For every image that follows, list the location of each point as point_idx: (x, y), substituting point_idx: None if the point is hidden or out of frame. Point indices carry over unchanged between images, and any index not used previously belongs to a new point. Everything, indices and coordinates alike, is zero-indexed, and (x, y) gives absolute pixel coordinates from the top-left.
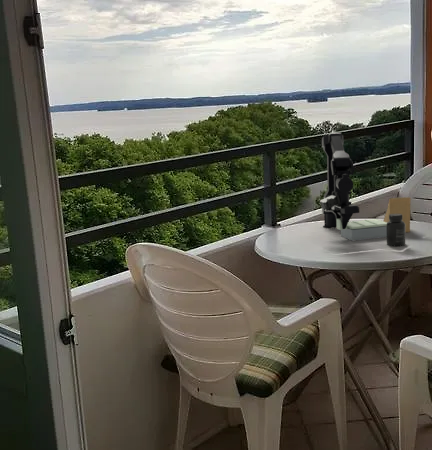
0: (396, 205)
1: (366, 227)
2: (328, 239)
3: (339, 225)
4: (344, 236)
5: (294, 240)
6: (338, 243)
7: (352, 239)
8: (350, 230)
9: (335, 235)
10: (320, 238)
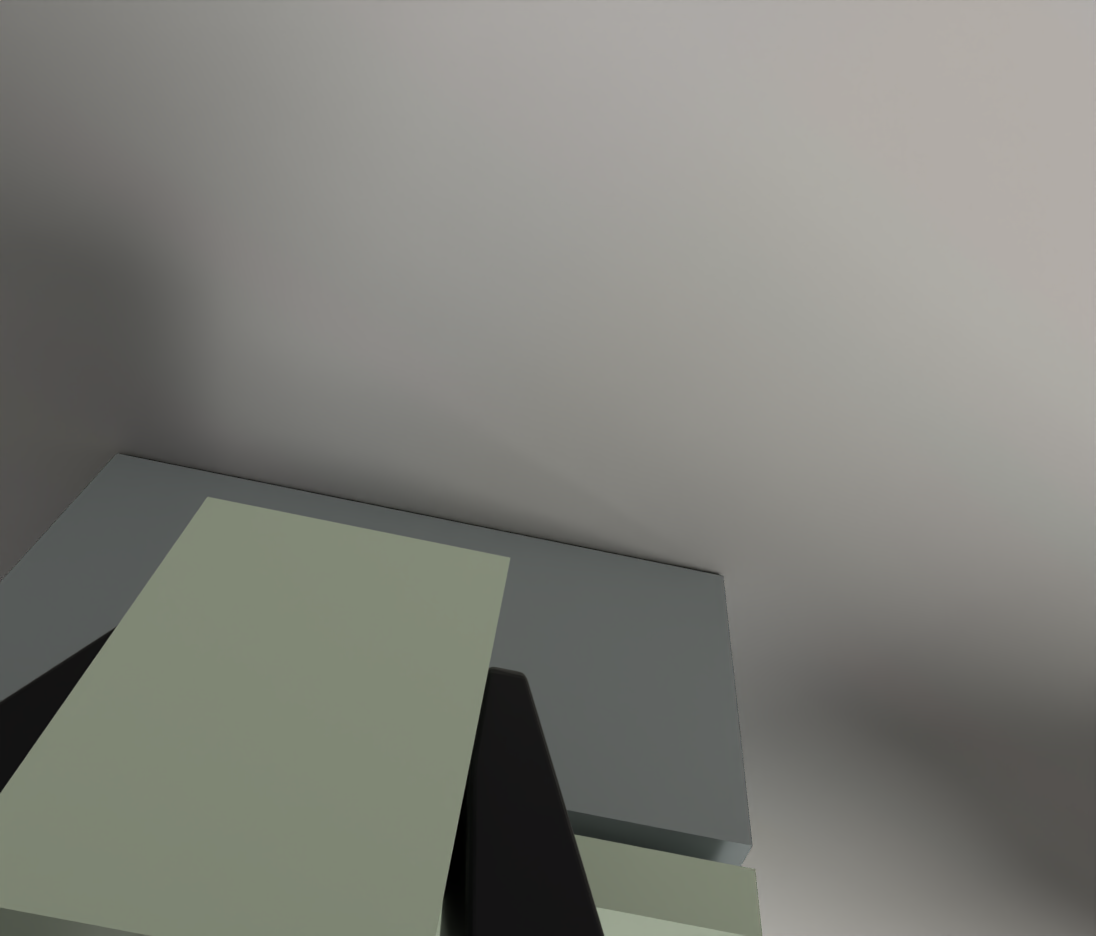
0: None
1: None
2: (749, 195)
3: (159, 631)
4: (513, 574)
5: None
6: (100, 95)
7: (82, 500)
8: (36, 674)
9: (972, 604)
10: (1078, 71)
